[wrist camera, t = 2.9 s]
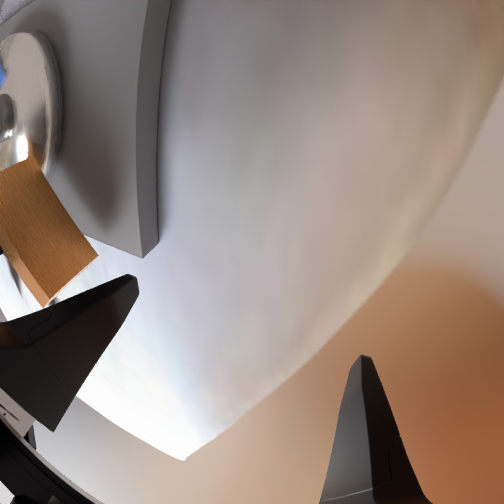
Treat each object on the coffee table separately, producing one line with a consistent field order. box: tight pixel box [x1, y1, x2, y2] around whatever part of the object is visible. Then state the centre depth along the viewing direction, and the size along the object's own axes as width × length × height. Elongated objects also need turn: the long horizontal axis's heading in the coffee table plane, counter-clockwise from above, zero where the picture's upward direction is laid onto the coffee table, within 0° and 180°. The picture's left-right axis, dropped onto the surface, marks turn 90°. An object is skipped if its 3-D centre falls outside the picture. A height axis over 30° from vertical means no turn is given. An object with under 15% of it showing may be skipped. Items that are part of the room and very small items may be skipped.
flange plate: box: [0, 31, 99, 308], centre depth 9 cm, size 14×14×5 cm
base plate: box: [0, 0, 171, 259], centre depth 10 cm, size 20×15×6 cm
